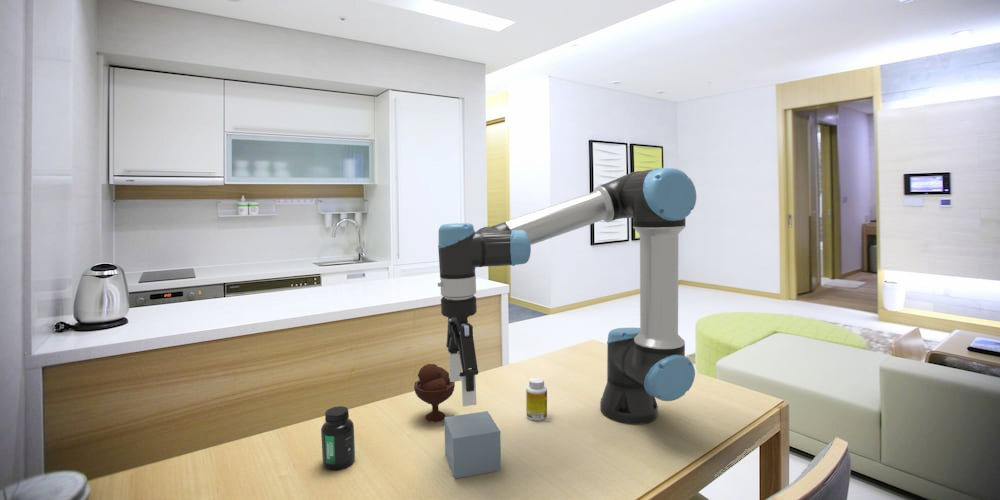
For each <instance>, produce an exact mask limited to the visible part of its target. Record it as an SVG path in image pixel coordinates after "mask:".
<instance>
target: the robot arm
mask: <svg viewBox="0 0 1000 500" xmlns="http://www.w3.org/2000/svg"><path fill="white" fill-rule="evenodd" d="M696 202H697V190H696V187H695V184H694V182H693V180H692V179H691V177H689V175H687V173H686V172H684V171H682V170H680V169H678V168H672V167H659V168H654V169H653V168H651V169H648V170H638V171H633V172H630V173H627V174H625V175H622V176H620V177H618V178H615V179H613V180H611V181H609V182H606V183H604V184H601V185H598V186H596V187H595V188H594V189H593V191H592V192H589V193H587V194H583V195H581V196H577V197H574V198H572V199H569V200H566V201H563V202H559V203H557V204H553V205H551V206H548V207H546V208H545V207H544V208H542V209H538V210H536V211H533V212H530V213H527V214H524V215H521V216H518V217H516V218H512V219H510V220H506V221H504V222H501V223H498V224H495V225H492V226H484V227H480V228H479V229H477V230H475V227H474V225H473V224H472V223H469V222H467V223H466V222H465V223H463V222H461V223H457V222H456V223H445V224H442V225H440V226H439V228H438V244H437V245H438V246H437V249H438V263H439V265H438V266H439V277H440V279H439V280H440V281H439V282H437V287H440V295H441V296H442V297H441V299H440V310H441V315H442V316H443V317H446V318H447V331H446V333H447V334H446V336H447V337H446V344H445V345H446V348H447V352H448V368H449V378H450V382H461V397H462V407H469V406H475V405H476V406H477V386H476V383H477V382H476V376H477V375H478V374H479V370H478V369H479V368H478V364H477V363H478V362H477V356H476V349H475V348H476V347H475V341H474V332H473V329H474V327H473V325H472V324H471V323H470V322H469V319H468V318H469V317H472V316H474V315H475V314H476V313H477V310H478V309H477V297H476V296H475V294H477V276H476V268H483V267H500V266H501V267H502V266H503V267H504V266H512V267H514V266H516V265H517V266H518V265H524V264H527V263H528V262H529V260H530V257H531V248H532V246H533V245H535V244H538V243H541V242H545V241H546V240H549V239H552V238H555V237H557V236H562V235H563V234H567V233H570V232H572V231H574V230H575V231H576V230H578V229H580V228H584V227H586V226H590V225H593V224H595V223H598V222H602V221H604V222H606V223H610V222H614V221H615V220H620V219H629V218H630V219H632V228H633V229H634V230H635V231H636V232H637V233H638V234H639V292H640V293H639V294H640V295H639V299H640V302H639V303H640V305H639V310H640V311H639V313H640V315H639V317H640V319H639V321H640V322H639V323H640V324H639V326H640V327H620V328H618V327H617V328H613V329H611V330H610V331H609V332H608V334H607V341H606V344H607V351H606V352H607V355H606V356H607V359H606V360H607V364H606V365H607V367H606V370H607V371H606V374H607V375H606V377H607V378H606V385H605V387H604V390H603V393H602V396H601V398H600V403H599V405H600V406H599V407H600V408H599V409H600V412H601V413H602V415H604V416H605V417H606V418H608V419H610V420H613V421H616V422H620V423H623V424H630V425H631V424H633V425H642V424H648V423H651V422H653V421H655V420H656V419H657V418H658V415H659V414H658V412H659V411H658V410H659V409H658V408H659V407H658V404H657V400H660V401H664V402H672V401H676V400H679V399H680V398H682V397H683V396H685V394H686V393H687V392H688V391H690V389H691V388H692V386H693V384H694V381H695V377H696V370H695V366H694V364H693V362H691V360H690V359H689V358H688V357H686V353H685V352H686V348H685V347H686V343H685V339H683V338H682V337H681V335H679V235H680V234H681V232H682V231H684V229H685V228H686V218H688V217H689V215H691V211H692V210H694V209H695V206H696ZM656 399H657V400H656Z"/></svg>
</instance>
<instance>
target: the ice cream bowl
mask: <svg viewBox="0 0 1000 500" xmlns="http://www.w3.org/2000/svg"><path fill="white" fill-rule="evenodd" d="M417 377H418V379H419V380H417V381H415V382H414V386H413V388H414V393H415V395H416V397H417V398H418V399H420V400H421V401H423V402H424V403H427V404H428V405H431V411H430V412H428V413H426V415H425V421H426V422H429V423H439V422H442V421H444V417H446V414H445V412H444V411H440V410H439V405H440V404H443V403H444V402H446V401H447V400H448V399H450V397H451V396H452V395H453V392H454V391H455V386H456V385H455V382H456V381H455V382H450V372H448V371H447V370H446V369H445V368H443V367H440V366H438V365H437V364H436V363H427V364H424V365H423V366H422V367H421V368H420V369H419V370H418V373H417Z"/></svg>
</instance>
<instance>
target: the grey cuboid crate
mask: <svg viewBox="0 0 1000 500" xmlns="http://www.w3.org/2000/svg"><path fill="white" fill-rule="evenodd" d="M443 421H444V423H443V424H444V453H445V458H446V460H447V462H448V466H449V469H450V471H451V474H452V477H453V479H454V480H456V479H462V478H466V477H472V476H476V475H477V476H478V475H483V474H487V473H492V472H500V471H501V470H502V467H501V466H502V465H501V464H502V463H501V462H502V461H501V458H502V456H501V455H502V454H501V430H500V429H499V427H498V425H497V424H496V422H495V420H494V419H493V417H492V415H491V413H489V411H488V410H485V411H478V412H477V411H476V412H471V413H465V414H459V415H458V414H457V415H451V416H445V417H444V420H443Z"/></svg>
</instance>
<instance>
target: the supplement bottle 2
mask: <svg viewBox="0 0 1000 500" xmlns="http://www.w3.org/2000/svg"><path fill="white" fill-rule="evenodd" d="M528 381H529V382H528V385H527V386H526V390H525V392H526V393H525V394H526V395H525V396H526V399H525V404H526V405H525V409H526V411H525V412H526V413H525V415H526V417H527V418H528V420H532V421H536V422H537V421H543V420H545V419H547V416H548V388H547V386H546V385H545V380H544V378H541V377H531V378H530V379H528Z"/></svg>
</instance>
